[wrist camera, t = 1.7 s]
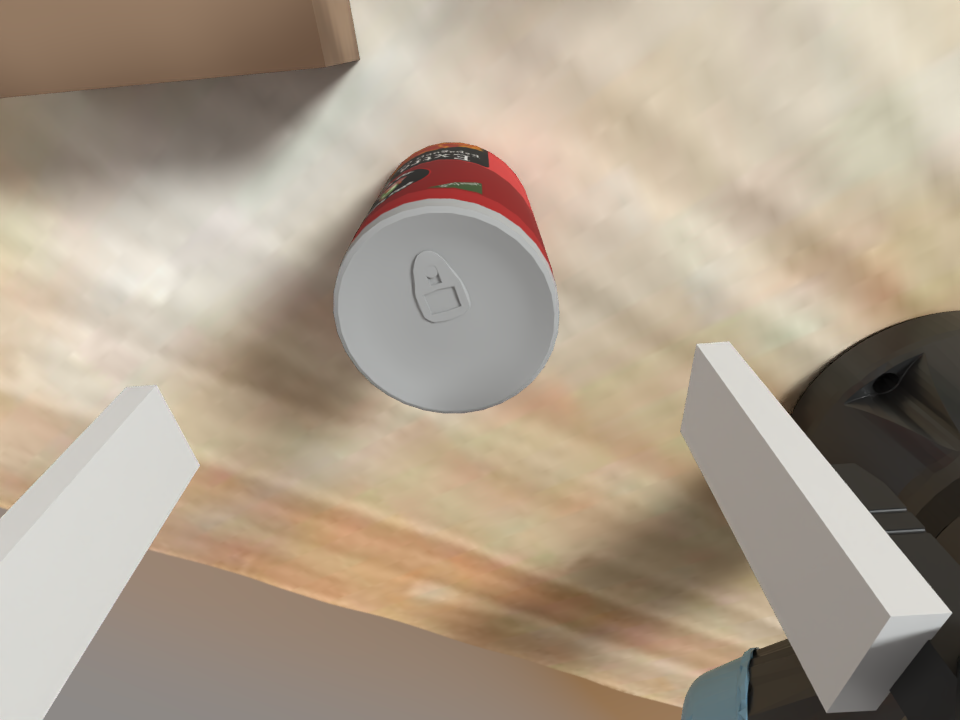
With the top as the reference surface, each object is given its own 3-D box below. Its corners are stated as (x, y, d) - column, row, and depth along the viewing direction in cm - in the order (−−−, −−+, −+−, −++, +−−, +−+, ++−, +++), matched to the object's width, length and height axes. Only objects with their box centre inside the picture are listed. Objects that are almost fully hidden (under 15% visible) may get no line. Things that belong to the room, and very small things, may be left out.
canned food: (476, 103, 23) (477, 150, 14) (559, 244, 27) (603, 354, 18) (349, 196, 25) (277, 290, 16) (441, 314, 29) (425, 445, 20)
